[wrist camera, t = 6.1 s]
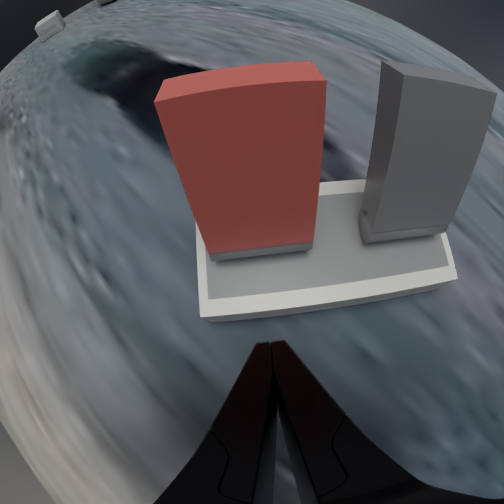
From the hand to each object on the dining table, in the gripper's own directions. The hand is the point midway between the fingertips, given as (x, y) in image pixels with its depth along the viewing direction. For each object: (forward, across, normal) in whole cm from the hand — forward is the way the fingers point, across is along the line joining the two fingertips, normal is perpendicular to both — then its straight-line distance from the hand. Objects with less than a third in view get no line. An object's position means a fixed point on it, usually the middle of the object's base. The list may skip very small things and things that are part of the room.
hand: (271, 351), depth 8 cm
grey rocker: (+7, -8, -1) cm, 11 cm away
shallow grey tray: (+10, -4, +2) cm, 11 cm away
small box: (+50, +39, -38) cm, 74 cm away
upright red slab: (+7, 0, -1) cm, 7 cm away
